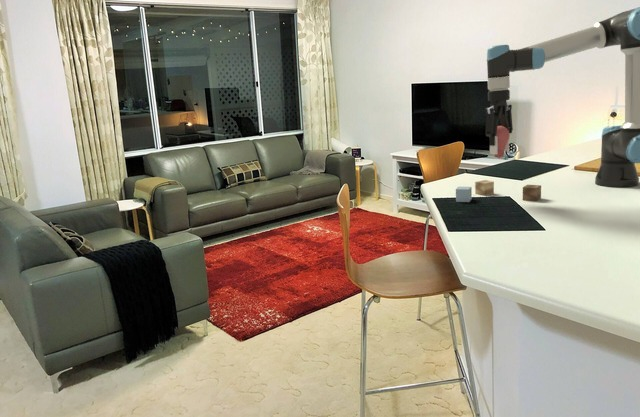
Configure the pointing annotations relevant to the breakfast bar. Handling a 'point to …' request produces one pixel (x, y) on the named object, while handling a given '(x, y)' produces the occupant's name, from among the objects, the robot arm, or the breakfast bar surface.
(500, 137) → the light bulb
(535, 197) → the walnut block
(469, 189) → the slate-blue painted block
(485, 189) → the oak block
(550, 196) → the breakfast bar surface
